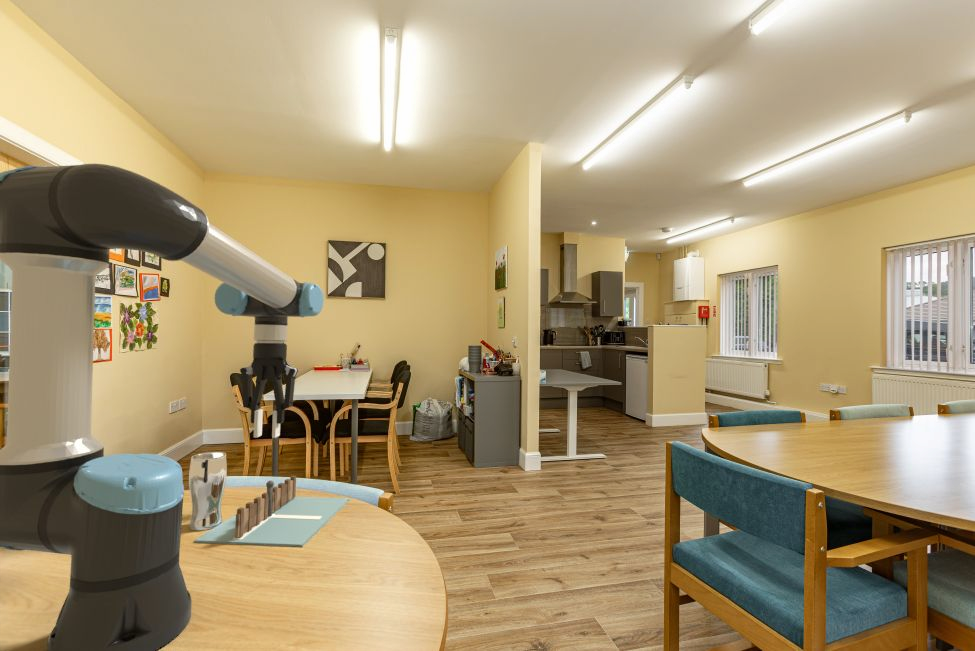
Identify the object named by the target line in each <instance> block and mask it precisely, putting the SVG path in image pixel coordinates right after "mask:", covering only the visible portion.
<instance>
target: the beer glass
mask: <svg viewBox="0 0 975 651" xmlns="http://www.w3.org/2000/svg"><path fill="white" fill-rule="evenodd" d="M190 458H191V459H190V463H189V464H190V465H189V471H188V473H189V474H188V488H189V494H190V495H189V496H190V500H191V502H190V503H191V517H190V521H189V525H188V528H189V530H191V531H195V532H196V531H197V532H200V531H208V530H212V529H213V528H215V527H216V526H218V525H220V524H221V523H223V516H222V500H223V496H224V492H225V487H226V481H227V473H228V472H227V471H228V470H227V469H228V468H227V467H228V466H227V464H228V462H227V453H226V452H224V451H223V452H222V451H209V452H202V453H201V452H200V453H196V454H193V455H192V456H191V457H190Z"/></svg>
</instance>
